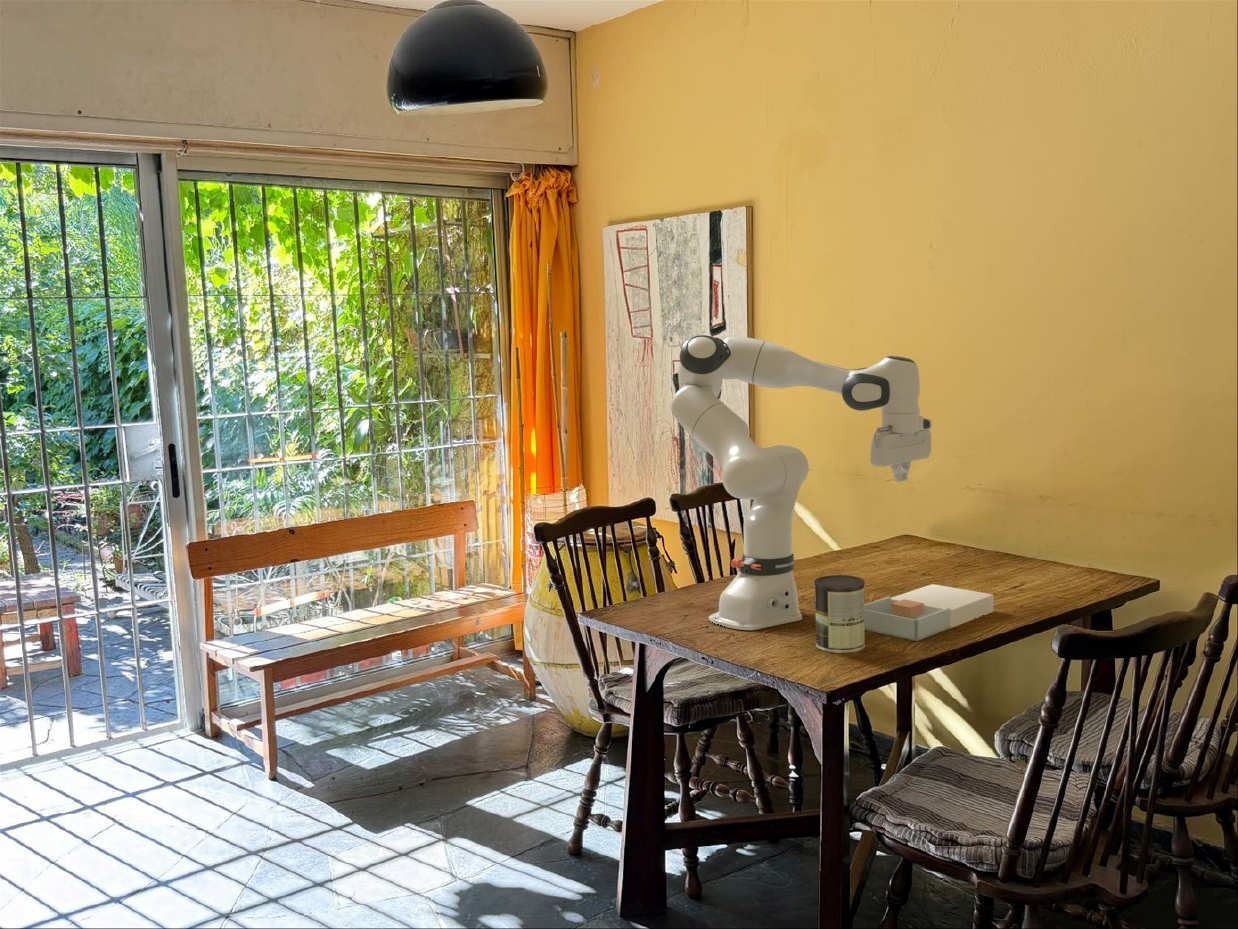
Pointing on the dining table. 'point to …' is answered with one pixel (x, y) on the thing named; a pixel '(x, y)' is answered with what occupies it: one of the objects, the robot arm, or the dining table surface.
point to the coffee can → (839, 613)
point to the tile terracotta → (907, 608)
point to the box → (903, 622)
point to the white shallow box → (950, 602)
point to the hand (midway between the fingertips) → (900, 480)
